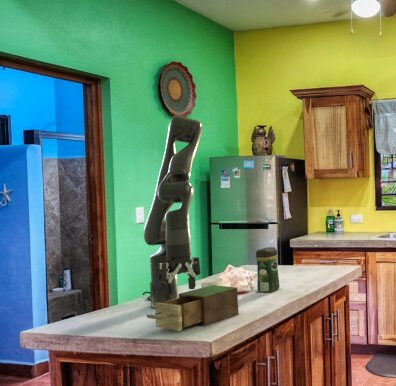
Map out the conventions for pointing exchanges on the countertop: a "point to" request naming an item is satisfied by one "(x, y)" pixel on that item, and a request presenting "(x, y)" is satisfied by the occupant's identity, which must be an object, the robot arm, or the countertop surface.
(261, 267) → the coffee jar
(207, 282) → the white cup
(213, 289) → the cabinet
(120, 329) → the countertop surface
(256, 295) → the countertop surface
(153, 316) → the drawer
